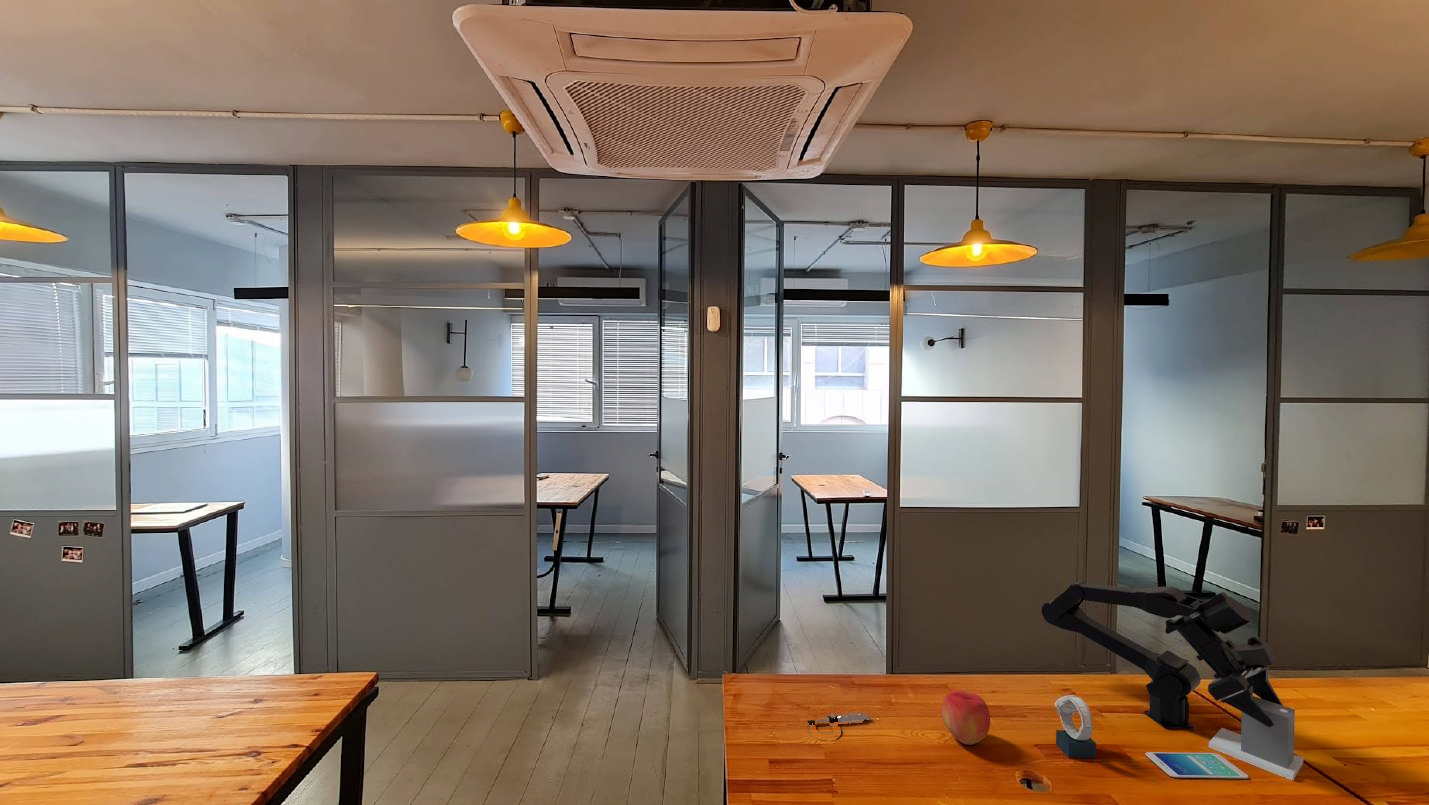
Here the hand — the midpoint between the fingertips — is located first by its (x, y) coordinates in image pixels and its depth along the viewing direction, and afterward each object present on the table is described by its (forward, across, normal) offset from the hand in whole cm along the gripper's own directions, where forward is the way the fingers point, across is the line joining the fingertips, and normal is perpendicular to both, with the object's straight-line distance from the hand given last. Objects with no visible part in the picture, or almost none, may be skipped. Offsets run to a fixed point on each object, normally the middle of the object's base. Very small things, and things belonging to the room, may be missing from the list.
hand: (1277, 718), depth 113 cm
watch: (-11, -29, +24) cm, 39 cm away
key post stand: (+4, 0, +9) cm, 10 cm away
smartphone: (0, -14, +13) cm, 20 cm away
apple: (-22, -44, +35) cm, 60 cm away
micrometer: (-34, -63, +48) cm, 86 cm away
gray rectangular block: (+5, 0, +7) cm, 8 cm away
